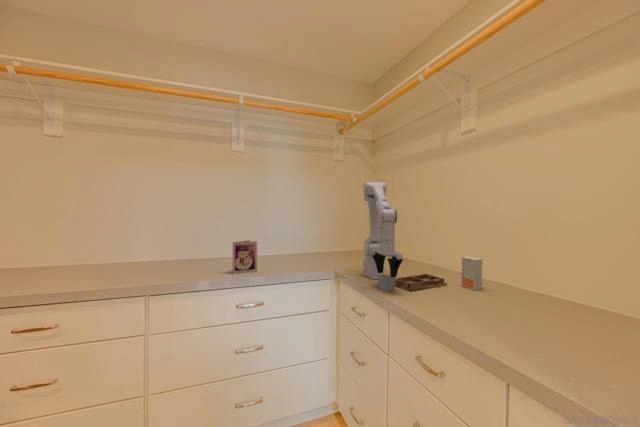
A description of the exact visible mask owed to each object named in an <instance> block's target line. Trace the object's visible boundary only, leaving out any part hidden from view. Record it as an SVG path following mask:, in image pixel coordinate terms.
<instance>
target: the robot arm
mask: <svg viewBox="0 0 640 427" xmlns="http://www.w3.org/2000/svg"><path fill="white" fill-rule="evenodd" d="M386 194H387V184H386V182H385V181H365V182H364V183H363V198H364V199H363V200H364V201H366V203H367V205H368V218H369V219H368V220H369V234H370V235H369V236H368V237H367V238H365V240H364V246H363V247H364V248H363V251H364V256H365V257H364V259H363V264H362V266H363V267H362V268H363V272H362V273H361V275H363V276H365V277H367V278H371V279H373V280H378V276H381V275H385V274H384V272H385V269H384V267H385V266H384V264H385V260H386V257H389V258H387V261H388V262H387V263H388V266H389V273H390V274H389V275H390V276H391V277H395V278H397V275H398V271H399V269H400V267H401V264H402V263H403V261H404V260H403V253H400V252H397V251H395V247H396V242H395V241H396V240H395V239H396V232H395V231H396V229H395V228H396V224H397V222H398V213H397V209H396V208H394V207H392V205H391V203H390V200H389V198H387V197H386Z"/></svg>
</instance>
